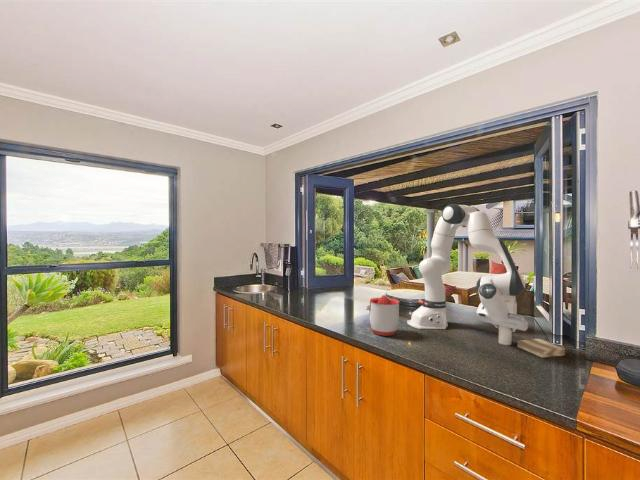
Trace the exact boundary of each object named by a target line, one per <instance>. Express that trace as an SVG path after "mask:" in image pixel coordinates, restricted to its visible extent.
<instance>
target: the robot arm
mask: <svg viewBox="0 0 640 480" xmlns="http://www.w3.org/2000/svg"><path fill="white" fill-rule="evenodd" d="M460 227H462V228H466V231H467V238H468V241H469V244H470V245H471V246H472V247H473V248H474V249H476V250H479V251H481V252H487V253H494V254H496V255H498V256H500V259H501V260H502V262H503V265H504V267H505V269H506V272H504V273H499V274H489V275H483V276H482V275H481V277H480V276H479V279H478V280H477V281H476V291H477V292H476V293H477V294H478V295H477V296H478V298H479V299H480V303H479V304H478V307H477V309H476V315H477V319H478V320H479V321H481V322H484V323H487V324H488V323H489V324H491V325H493V326H494V327H495V328H496V329H498V328H499V325H501V326H505V327H509V328H511V329H510V330H511V331H512V333H515V332H516V330H519V331H522V332H526V331H527V330H528V328H529V323H528V321H527V320H526V318H525V317H524V316H523V315H520V314H512V313H509V310H508V308H507V305H506V304H505V302H504V299H503V297H502V295H510V296H519V295H521V294H522V293H523V292H524V291H525V290H526V283H525V280H524V278H523V277H522V275H521V273H520V272H519V270H518V267H517V266H516V263H515V262H514V260H513V257H512V255H511V253H510V250H509V249H508V246H507V245H506V243H505V242H504V240H502V239H501V238H498V237H497V236H496V235H495V232H494V230H493V226H492V223H491V220H490V218H489V216H488V214H487V213H486V212H485V211H482V210H481V211H480V209H478V208H477V207H474V206H470V205H466V204H457V203H451V204H447V205H445V207H444V208H443V209H442V211H441V216H440V217H439V218H438V221H437V223H436V225H435V228H434V231H433V235H432V238H431V242H430V247H431V256H430V257H426V258H424V259H423V260H421V261H420V263H419V265H418V270H419V272H420V274H421V276H422V279H423V283H424V284H423V285H424V298H423V300H422V299H418V303H419V304H421V305H420V306H419V307H418V308H417V309H415V310H414V311H412V313H411V316H410V317H411V318H410V319H407V321H406V323H407V324H408V325H409V326H411V327H413V328H415V329H418V330H447V329H446V328H448V326H449V325H448V321H447V314H446V308H447V300H446V286H445V285H444V281H443V276H444V275H445V274H447V273H448V272H450V270H451V267H452V264H451V255H452V254H451V253H452V247H453V243H454V240H455V236H456V232H457V230H458V228H460ZM442 275H443V276H442Z"/></svg>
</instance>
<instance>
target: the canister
mask: <svg viewBox="0 0 640 480" xmlns="http://www.w3.org/2000/svg"><path fill="white" fill-rule="evenodd" d="M510 329H511V328H509V327H505V326H501V325H499V329H498V344H499V345H503V346H511V345H512V340H513V339H512V333H513V332H512V331H511V330H510Z"/></svg>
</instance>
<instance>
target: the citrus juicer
mask: <svg viewBox="0 0 640 480" xmlns="http://www.w3.org/2000/svg"><path fill="white" fill-rule="evenodd" d="M365 310H366V311H368V310H369V323H370V328H371V331H372V333H374V334H375V335H377V336H378V335H379V336H383V337H385V336H387V337H388V336H389V337H390V336H393V335H395V334H396V332H397V330H398V326H399V318H400V312H399V311H400V300H398V299H395V298H390V297H388V296H387V295H385V294H384V295H382V296H380V297H373V298H370V301H369V305H367V306H366V308H365Z"/></svg>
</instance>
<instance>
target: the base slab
mask: <svg viewBox="0 0 640 480" xmlns="http://www.w3.org/2000/svg"><path fill="white" fill-rule="evenodd" d="M517 348H520V349H522V350H524V351H526V352H528V353H530V354H533V355H535V356H537V357H540V358H542V359H544V358H551V357H553V358H554V357H562V356H566V348H565V347H562V346H560V345H557V344H554V343H550V342H549V341H546V340H544V339H540V338H530V339H529V338H528V339H518V340H517Z"/></svg>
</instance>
